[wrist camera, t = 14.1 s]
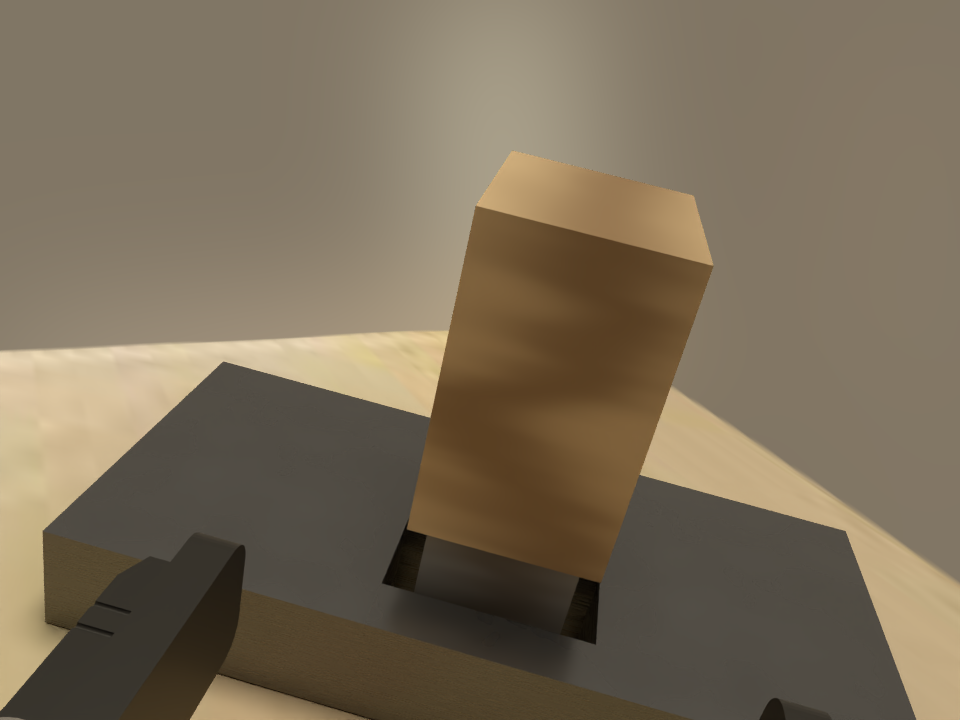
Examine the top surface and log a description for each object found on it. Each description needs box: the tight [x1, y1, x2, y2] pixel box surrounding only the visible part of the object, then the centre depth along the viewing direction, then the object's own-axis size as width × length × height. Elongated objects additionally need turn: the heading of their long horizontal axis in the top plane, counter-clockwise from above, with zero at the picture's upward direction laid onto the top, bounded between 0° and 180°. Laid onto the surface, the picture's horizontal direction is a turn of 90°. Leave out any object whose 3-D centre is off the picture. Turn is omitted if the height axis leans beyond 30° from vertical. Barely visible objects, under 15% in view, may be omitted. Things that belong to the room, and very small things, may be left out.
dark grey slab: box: [43, 362, 916, 720], centre depth 25 cm, size 22×10×3 cm, turn 80°
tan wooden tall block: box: [407, 151, 713, 634], centre depth 23 cm, size 5×6×13 cm
